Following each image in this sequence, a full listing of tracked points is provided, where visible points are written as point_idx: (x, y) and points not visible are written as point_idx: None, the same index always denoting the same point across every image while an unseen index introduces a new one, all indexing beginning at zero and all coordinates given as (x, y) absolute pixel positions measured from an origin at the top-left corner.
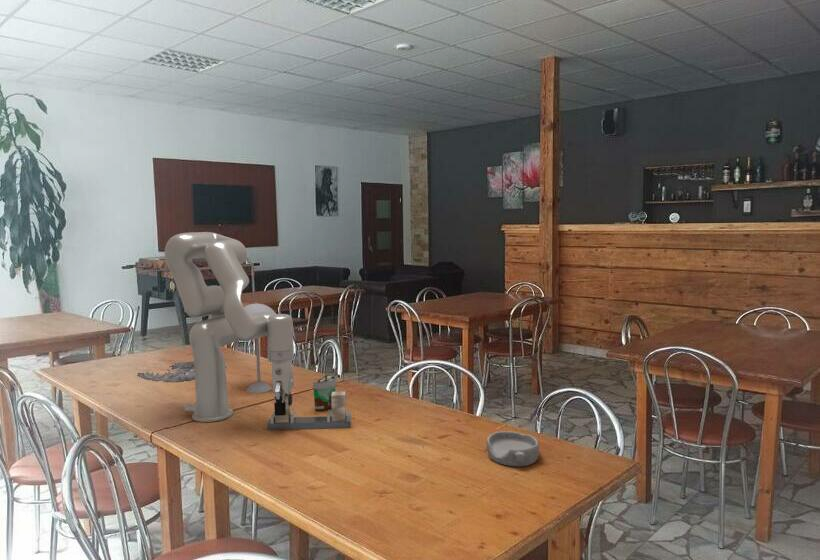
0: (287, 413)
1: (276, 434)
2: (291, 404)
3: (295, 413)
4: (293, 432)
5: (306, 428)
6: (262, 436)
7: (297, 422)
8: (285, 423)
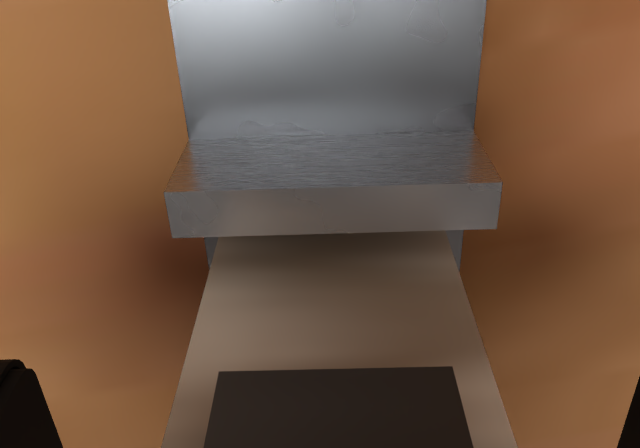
0: (463, 312)
1: (601, 268)
2: (384, 374)
3: (210, 174)
4: (586, 71)
5: None
6: (621, 383)
7: (470, 64)
8: (461, 242)
